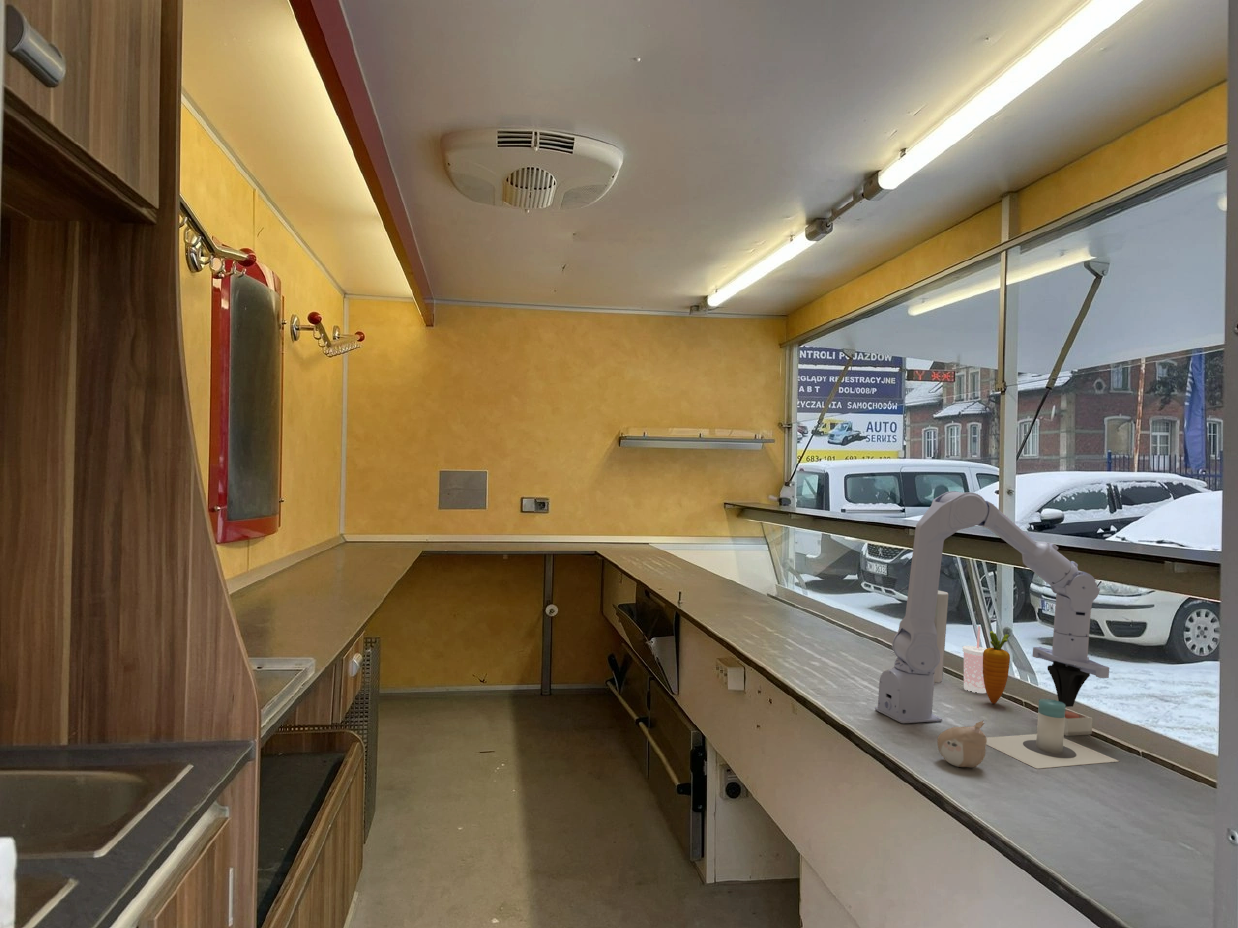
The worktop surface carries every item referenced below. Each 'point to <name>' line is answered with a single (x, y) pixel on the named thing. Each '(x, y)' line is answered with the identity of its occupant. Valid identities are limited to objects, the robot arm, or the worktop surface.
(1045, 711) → the marker
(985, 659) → the carrot
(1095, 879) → the worktop surface
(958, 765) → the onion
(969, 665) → the beverage cup
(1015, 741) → the paper sheet
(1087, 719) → the button housing
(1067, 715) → the button
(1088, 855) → the worktop surface
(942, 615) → the spray can
